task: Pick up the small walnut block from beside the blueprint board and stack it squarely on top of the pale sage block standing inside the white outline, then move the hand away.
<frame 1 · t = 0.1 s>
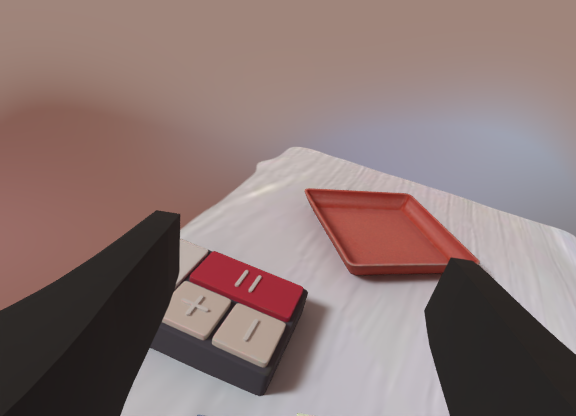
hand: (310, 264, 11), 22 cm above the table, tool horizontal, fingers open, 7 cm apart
plant saucer: (378, 243, 55), on the table
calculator: (210, 322, 38), on the table
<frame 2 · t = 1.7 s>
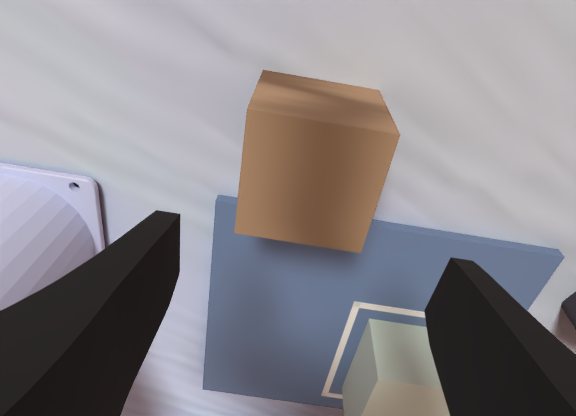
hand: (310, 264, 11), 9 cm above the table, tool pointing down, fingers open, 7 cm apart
walnut block: (310, 133, 18), on the table
blueprint board: (353, 326, 25), on the table
sage base block: (407, 363, 26), point 1 cm above the table, touching blueprint board
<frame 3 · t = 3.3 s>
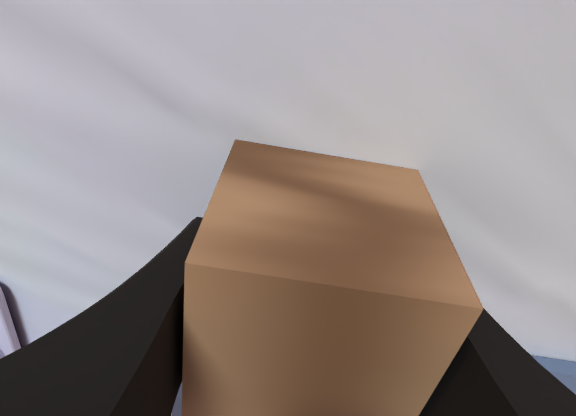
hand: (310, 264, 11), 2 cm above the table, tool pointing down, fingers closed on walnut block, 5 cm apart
walnut block: (310, 229, 12), on the table, touching gripper
when the fingers open (7 cm above the table, at t = 7.0 s): walnut block stays where it is, resting on sage base block.
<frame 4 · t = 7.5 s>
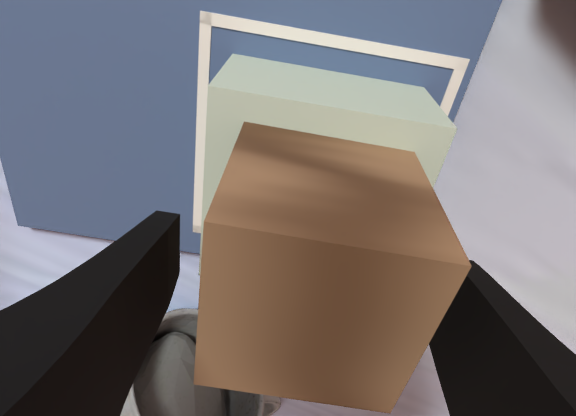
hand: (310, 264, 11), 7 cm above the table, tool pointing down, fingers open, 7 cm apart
walnut block: (312, 208, 13), point 5 cm above the table, touching sage base block
blueprint board: (219, 87, 16), on the table
ceramic mug: (205, 353, 25), on the table
sage base block: (311, 157, 16), point 1 cm above the table, touching blueprint board, walnut block
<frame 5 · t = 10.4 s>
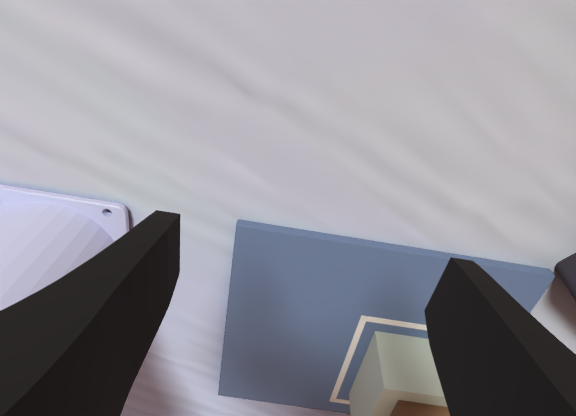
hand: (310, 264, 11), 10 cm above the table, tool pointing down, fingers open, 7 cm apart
blueprint board: (360, 337, 27), on the table
sage base block: (410, 371, 28), point 1 cm above the table, touching blueprint board, walnut block
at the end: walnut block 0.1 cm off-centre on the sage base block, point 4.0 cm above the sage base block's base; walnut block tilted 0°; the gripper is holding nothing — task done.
